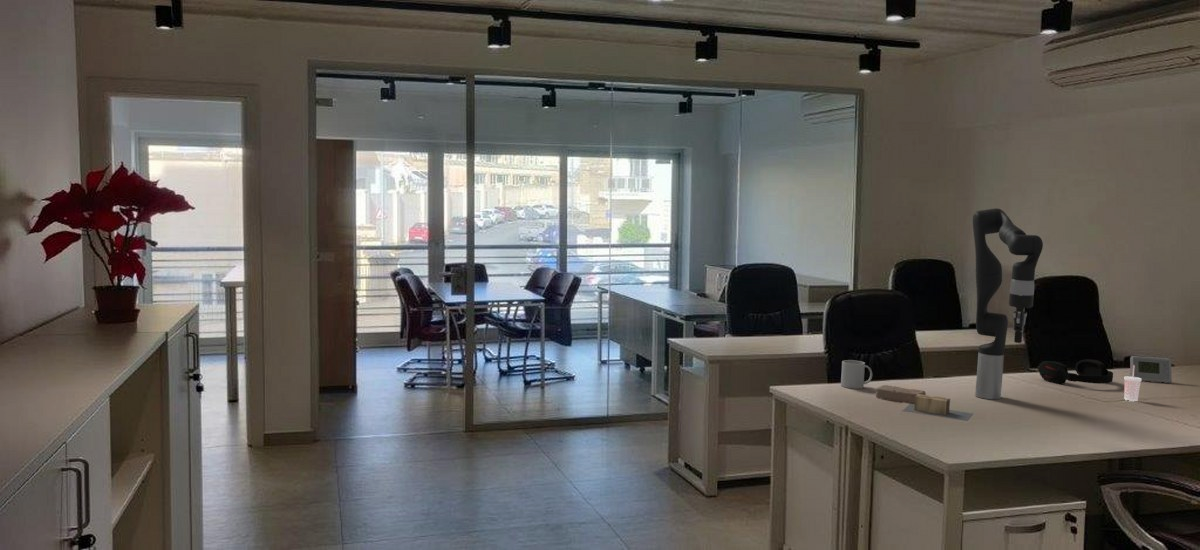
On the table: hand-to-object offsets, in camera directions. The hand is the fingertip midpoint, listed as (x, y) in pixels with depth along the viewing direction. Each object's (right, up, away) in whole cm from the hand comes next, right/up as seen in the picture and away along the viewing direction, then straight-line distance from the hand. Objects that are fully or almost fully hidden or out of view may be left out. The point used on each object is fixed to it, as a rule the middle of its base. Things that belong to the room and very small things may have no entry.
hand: (1017, 342), depth 305 cm
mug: (-41, -22, +52) cm, 70 cm away
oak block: (-20, -24, +9) cm, 33 cm away
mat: (-24, -26, +11) cm, 37 cm away
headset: (+62, -23, +80) cm, 104 cm away
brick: (-30, -25, +31) cm, 50 cm away
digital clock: (+99, -24, +85) cm, 133 cm away
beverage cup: (+66, -27, +45) cm, 84 cm away
